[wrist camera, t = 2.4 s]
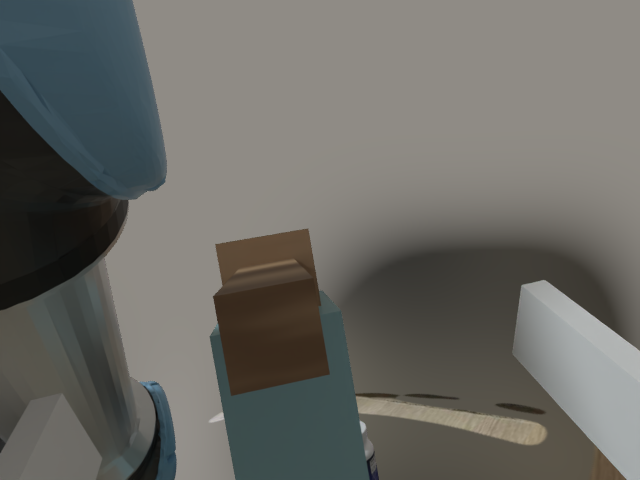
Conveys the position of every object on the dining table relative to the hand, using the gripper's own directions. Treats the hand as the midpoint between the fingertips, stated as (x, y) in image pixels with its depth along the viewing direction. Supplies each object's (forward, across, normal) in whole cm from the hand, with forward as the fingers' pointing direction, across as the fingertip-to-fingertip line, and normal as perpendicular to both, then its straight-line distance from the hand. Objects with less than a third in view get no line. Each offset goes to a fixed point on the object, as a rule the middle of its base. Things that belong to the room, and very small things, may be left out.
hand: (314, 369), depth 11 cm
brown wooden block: (+13, -1, -8) cm, 15 cm away
